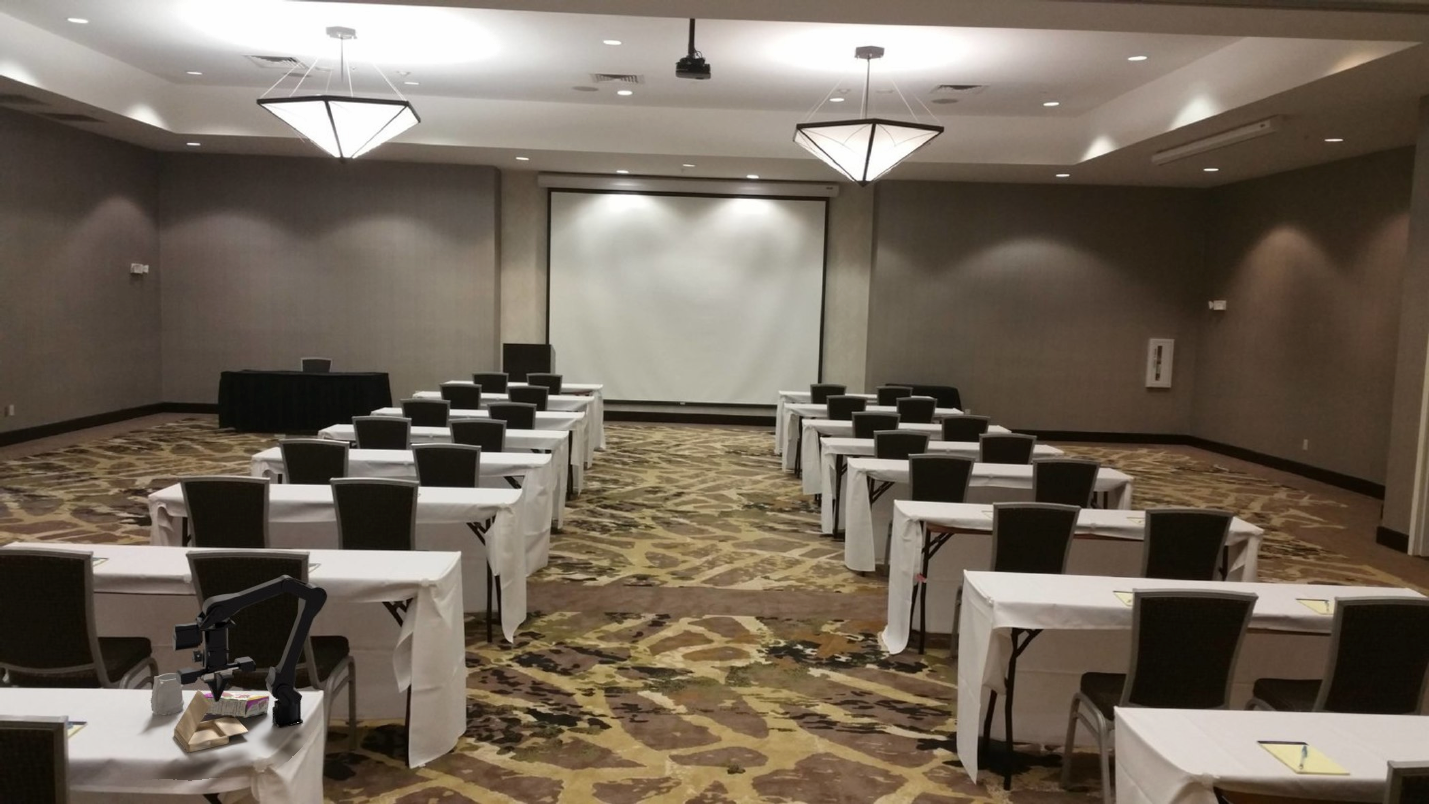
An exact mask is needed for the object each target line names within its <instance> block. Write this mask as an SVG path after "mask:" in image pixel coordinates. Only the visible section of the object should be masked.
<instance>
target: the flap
mask: <svg viewBox="0 0 1429 804" xmlns="http://www.w3.org/2000/svg"><path fill="white" fill-rule="evenodd" d="M204 694H205V693H203V692H202V691H201V690H200V689H197V691H196V692H195V694H194V695H193V697H192V699H191V700H190V702H189V704H188V705H187V707H186V708H185V710H184V712H183V714H182V715H181V717H180V719H179V720H178V722H177V724H176V725H175V727H174V728H176V729H177V731H178V732H179V733H180V734H181V735H182V737H183V738H184V739H185V740H186V742H187V743H189V741H190V739H191V738H192V736H193V734H194V733H195V731H196V729H197V728H198V726H199V724H200V723H201V722H203V719H204V717H205V716H206V715H207V714H206V712H207V711H208V709H209V707H210V706H211V704H212V703H211V702H210V700H209V699H208V698H207V697H206V696H205V695H204Z"/></svg>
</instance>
